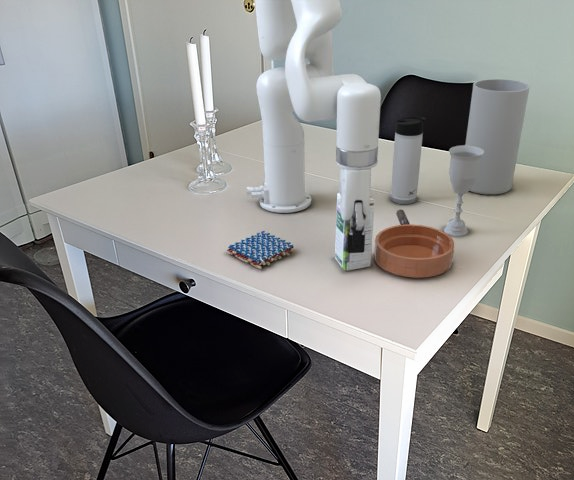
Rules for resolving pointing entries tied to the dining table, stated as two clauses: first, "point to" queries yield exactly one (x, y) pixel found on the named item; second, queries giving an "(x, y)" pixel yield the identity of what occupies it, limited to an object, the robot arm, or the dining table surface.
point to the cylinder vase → (496, 131)
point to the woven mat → (260, 249)
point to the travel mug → (406, 159)
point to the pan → (414, 250)
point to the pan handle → (402, 217)
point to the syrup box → (342, 229)
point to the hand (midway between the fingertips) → (353, 242)
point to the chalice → (462, 181)
